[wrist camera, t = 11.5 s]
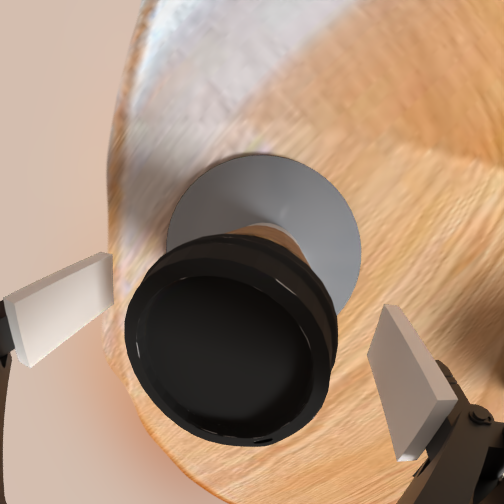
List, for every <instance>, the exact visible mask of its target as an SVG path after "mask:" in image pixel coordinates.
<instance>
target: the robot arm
mask: <svg viewBox="0 0 504 504" xmlns="http://www.w3.org/2000/svg"><path fill="white" fill-rule="evenodd" d="M113 304H114V296H113V262H112V254H108V253H103V252H100V253H98V254H95V255H93V256H91V257H88V258H86V259H84V260H81V261H79V262H77V263H75V264H73V265H70V266H68V267H66V268H64V269H62V270H59V271H57V272H55V273H53V274H51V275H49V276H47V277H45V278H42V279H41V280H38V281H36V282H34V283H32V284H30V285H28V286H26V287H24V288H22V289H20V290H18V291H16V292H14V293H11V294H10V295H8V296H6V297H4V298H3V300H2V301H0V504H7V503H6V501H5V496H4V483H3V427H4V412H5V402H6V394H7V387H8V380H9V373H10V367H11V362H12V357H11V354H10V351H12V350H13V349H15V350H16V354H17V357H18V360H19V361H20V362H21V363H23V364H24V365H26V366H27V367H29V368H31V367H33V366H34V365H35V364H36V363H37V362H39V361H40V360H41V359H42V358H44V357H45V356H46V355H48V354H49V353H50V352H51V351H53V350H54V349H55V348H57V347H58V346H59V345H60V344H61V343H63V342H64V341H66V340H67V339H68V338H69V337H71V336H72V335H73V334H75V333H76V332H77V331H79V330H80V329H81V328H83V327H84V326H85V325H87V324H88V323H89V322H90V321H92V320H93V319H94V318H96V317H97V316H99V315H100V314H101V313H103V312H104V311H105V310H107V309H108V308H109V307H111V306H112V305H113ZM367 357H368V360H369V363H370V366H371V369H372V372H373V375H374V379H375V382H376V385H377V389H378V392H379V395H380V399H381V402H382V406H383V409H384V413H385V416H386V420H387V424H388V428H389V431H390V435H391V439H392V443H393V447H394V451H395V455H396V459H397V461H412V460H417V459H418V458H419V457H420V455H421V454H422V453H423V451H424V450H425V449H426V451H427V454H428V458H427V459H426V461H425V462H424V463H423V464H422V466H421V467H420V468H419V469H418V470H417V471H416V473H415V474H414V475H413V477H414V479H413V481H412V482H411V484H410V485H409V487H408V488H407V489H406V491H405V492H404V494H403V495H402V497H401V498H400V499H399V501H398V502H397V503H396V504H504V476H503V473H504V423H501V422H495V421H494V418H493V416H492V414H491V413H490V412H489V411H488V410H487V409H485V408H483V407H482V406H479V405H476V404H470V403H469V401H468V399H467V398H466V396H465V394H464V393H463V391H462V390H461V388H460V386H459V385H458V384H457V381H456V380H455V378H454V377H453V375H452V374H451V372H450V370H449V369H448V367H446V366H445V365H444V364H443V363H442V362H441V361H439V360H434V358H433V357H432V355H431V353H430V352H429V350H428V349H427V347H426V346H425V344H424V343H423V341H422V339H421V338H420V336H419V335H418V333H417V332H416V330H415V329H414V327H413V326H412V324H411V323H410V321H409V320H408V319H407V317H406V316H405V314H404V313H403V311H402V310H401V308H400V307H399V306H396V305H389V304H384V306H383V309H382V312H381V315H380V318H379V322H378V325H377V328H376V331H375V334H374V336H373V339H372V342H371V345H370V348H369V351H368V353H367Z"/></svg>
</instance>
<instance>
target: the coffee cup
mask: <svg viewBox="0 0 504 504" xmlns="http://www.w3.org/2000/svg"><path fill="white" fill-rule="evenodd" d="M125 344H126V349H127V354H128V357H129V360H130V363H131V365H132V368H133V371H134V373H135V375H136V376H137V378H138V380H139V382H140V384H141V386H142V387H143V389H144V390H145V392H146V393H147V394H148V396H149V397H150V398H151V400H152V401H153V402H154V403H155V404H156V406H157V407H158V408H159V409H160V410H161V411H162V412H163V413H164V414H165V415H166V416H167V417H168V418H170V419H171V420H172V421H173V422H175V423H176V424H177V425H178V426H180V427H181V428H183V429H184V430H186V431H188V432H190V433H191V434H193V435H195V436H197V437H200V438H202V439H205V440H207V441H211V442H215V443H219V444H224V445H232V446H246V447H260V446H267V445H271V444H274V443H276V442H278V441H281V440H283V439H285V438H287V437H289V436H290V435H292V434H294V433H295V432H297V431H299V430H300V429H302V428H303V427H304V426H305V425H306V424H308V423H309V422H310V421H311V420H312V419H313V418H314V417H315V415H316V414H317V413H318V411H319V410H320V409H321V407H322V405H323V403H324V400H325V398H326V395H327V393H328V388H329V381H330V374H331V370H332V368H333V366H334V363H335V358H336V353H337V347H338V323H337V315H336V312H335V308H334V305H333V301H332V298H331V297H330V295H329V293H328V291H327V289H326V287H325V286H324V284H323V282H322V281H321V279H320V278H319V277H318V276H317V275H316V274H315V273H314V271H313V270H312V269H311V267H310V265H309V263H308V262H307V260H306V258H305V256H304V254H303V253H302V251H301V249H300V247H299V245H298V243H297V241H296V240H295V238H294V237H293V236H292V235H291V234H290V233H289V232H288V231H287V230H285V229H284V228H282V227H280V226H278V225H275V224H271V223H255V224H252V225H249V226H246V227H243V228H240V229H237V230H233V231H230V232H227V233H224V234H217V235H209V236H202V237H200V238H197V239H194V240H191V241H189V242H186V243H183V244H182V245H180V246H177V247H175V248H174V249H172V250H171V251H169V252H168V253H166V254H165V255H163V256H162V257H160V258H159V259H158V261H157V262H156V263H155V264H154V265H153V266H152V267H151V268H150V269H149V270H148V272H147V273H146V275H145V277H144V279H143V281H142V282H141V284H140V286H139V287H138V288H137V290H136V291H135V293H134V295H133V297H132V299H131V301H130V303H129V305H128V309H127V313H126V318H125Z"/></svg>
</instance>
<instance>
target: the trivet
mask: <svg viewBox="0 0 504 504" xmlns="http://www.w3.org/2000/svg"><path fill="white" fill-rule="evenodd" d="M255 223H271V224H275V225H278V226H280V227H282V228H284V229H285V230H287V231H288V232H289V233H290V234H291V235H292V236H293V237H294V238H295V240H296V241H297V243H298V245H299V247H300V249H301V251H302V253H303V254H304V256H305V258H306V260H307V262H308V263H309V265H310V267H311V269H312V270H313V271H314V273H315V274H316V275H317V276H318V277H319V278H320V279H321V281H322V282H323V284H324V286H325V287H326V289H327V291H328V293H329V295H330V297H331V298H332V301H333V305H334V308H335V312H336V315H338V314H339V313H340V311H341V310H342V309H343V308H344V306H345V305H346V303H347V301H348V300H349V298H350V296H351V294H352V292H353V290H354V288H355V285H356V282H357V279H358V275H359V270H360V264H361V243H360V235H359V231H358V227H357V223H356V221H355V218H354V216H353V214H352V211H351V209H350V208H349V206H348V204H347V202H346V201H345V199H344V198H343V196H342V195H341V194H340V193H339V191H338V190H337V189H336V188H335V187H334V186H333V185H332V184H331V183H330V182H329V181H328V180H327V179H326V178H325V177H323V176H322V175H320V174H319V173H318V172H316V171H315V170H313V169H311V168H309V167H307V166H305V165H304V164H301V163H299V162H296V161H293V160H290V159H287V158H282V157H277V156H267V155H256V156H246V157H241V158H236V159H233V160H230V161H227V162H225V163H222V164H220V165H218V166H216V167H214V168H212V169H210V170H209V171H208V172H206V173H205V174H203V175H202V176H201V177H199V178H198V179H197V180H196V181H195V182H194V183H193V184H192V185H191V186H190V187H189V189H188V190H187V191H186V192H185V194H184V195H183V196H182V198H181V199H180V201H179V203H178V205H177V206H176V208H175V211H174V213H173V215H172V218H171V221H170V225H169V229H168V235H167V247H166V253H168V252H169V251H171V250H172V249H174V248H175V247H177V246H180V245H182V244H183V243H186V242H189V241H191V240H194V239H197V238H200V237H202V236H209V235H217V234H224V233H227V232H230V231H233V230H237V229H240V228H243V227H246V226H249V225H252V224H255Z"/></svg>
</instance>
